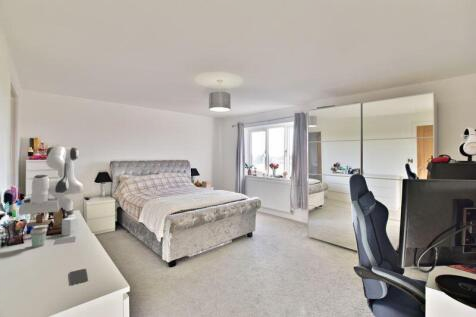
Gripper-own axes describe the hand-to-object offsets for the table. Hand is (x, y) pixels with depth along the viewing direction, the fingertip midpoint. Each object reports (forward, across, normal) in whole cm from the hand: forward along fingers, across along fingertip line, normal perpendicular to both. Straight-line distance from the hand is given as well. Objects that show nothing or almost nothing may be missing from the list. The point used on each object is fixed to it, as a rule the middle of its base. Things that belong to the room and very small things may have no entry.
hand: (39, 219), depth 149 cm
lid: (+3, 0, 0) cm, 3 cm away
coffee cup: (+18, 0, 0) cm, 18 cm away
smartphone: (+19, -23, +63) cm, 70 cm away
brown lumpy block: (+18, -7, -30) cm, 36 cm away
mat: (+18, -14, -4) cm, 23 cm away
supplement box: (+18, -16, -20) cm, 31 cm away
